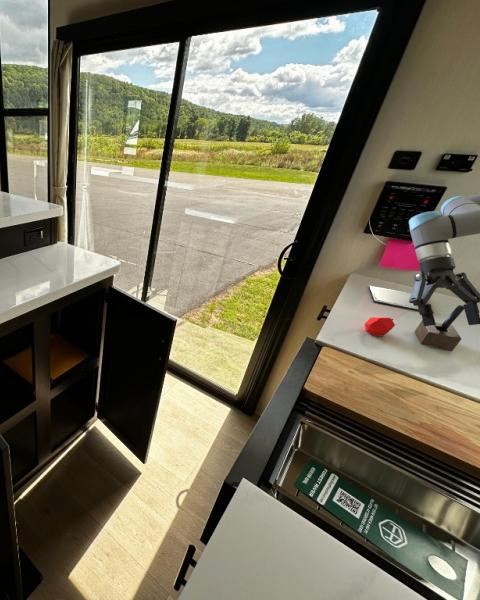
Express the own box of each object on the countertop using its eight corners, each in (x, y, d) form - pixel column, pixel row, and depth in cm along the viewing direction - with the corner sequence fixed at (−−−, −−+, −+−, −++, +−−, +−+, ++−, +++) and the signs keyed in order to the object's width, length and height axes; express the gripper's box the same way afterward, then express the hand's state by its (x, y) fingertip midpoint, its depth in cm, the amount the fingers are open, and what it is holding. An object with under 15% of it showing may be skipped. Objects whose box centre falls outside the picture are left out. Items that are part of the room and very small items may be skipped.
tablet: (422, 296, 124) (424, 295, 124) (432, 313, 115) (434, 312, 114) (368, 286, 132) (369, 285, 131) (373, 302, 122) (374, 300, 122)
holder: (444, 337, 104) (453, 325, 101) (451, 351, 99) (461, 339, 96) (414, 331, 107) (422, 319, 104) (420, 344, 102) (429, 331, 99)
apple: (376, 326, 102) (402, 317, 101) (358, 317, 108) (383, 308, 107) (377, 343, 104) (403, 334, 103) (360, 333, 110) (384, 325, 109)
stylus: (434, 340, 103) (464, 305, 96) (436, 343, 102) (467, 307, 95) (428, 338, 104) (457, 303, 97) (430, 341, 103) (460, 305, 96)
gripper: (461, 262, 105) (479, 325, 100) (384, 264, 105) (399, 327, 101) (489, 254, 97) (510, 322, 93) (407, 256, 98) (423, 324, 94)
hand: (452, 325), depth 97 cm, fingers open, 13 cm apart
